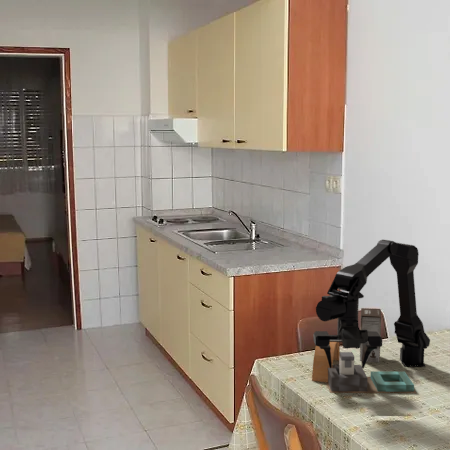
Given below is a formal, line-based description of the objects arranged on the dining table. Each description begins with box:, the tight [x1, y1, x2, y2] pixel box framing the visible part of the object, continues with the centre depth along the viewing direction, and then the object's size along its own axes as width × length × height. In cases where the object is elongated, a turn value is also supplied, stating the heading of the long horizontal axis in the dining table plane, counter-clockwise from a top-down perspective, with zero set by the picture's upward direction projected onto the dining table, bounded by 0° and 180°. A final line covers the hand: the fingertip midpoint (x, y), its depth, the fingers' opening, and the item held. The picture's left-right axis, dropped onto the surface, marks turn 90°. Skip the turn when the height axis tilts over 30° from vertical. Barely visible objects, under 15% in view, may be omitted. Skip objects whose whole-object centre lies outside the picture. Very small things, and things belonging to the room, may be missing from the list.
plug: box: [338, 351, 355, 375], centre depth 178 cm, size 4×4×9 cm
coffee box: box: [359, 307, 382, 363], centre depth 201 cm, size 9×6×16 cm
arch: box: [311, 342, 341, 383], centre depth 190 cm, size 6×20×10 cm, turn 162°
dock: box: [325, 364, 417, 394], centre depth 179 cm, size 24×12×5 cm, turn 89°
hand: (346, 367), depth 179 cm, fingers open, 9 cm apart
